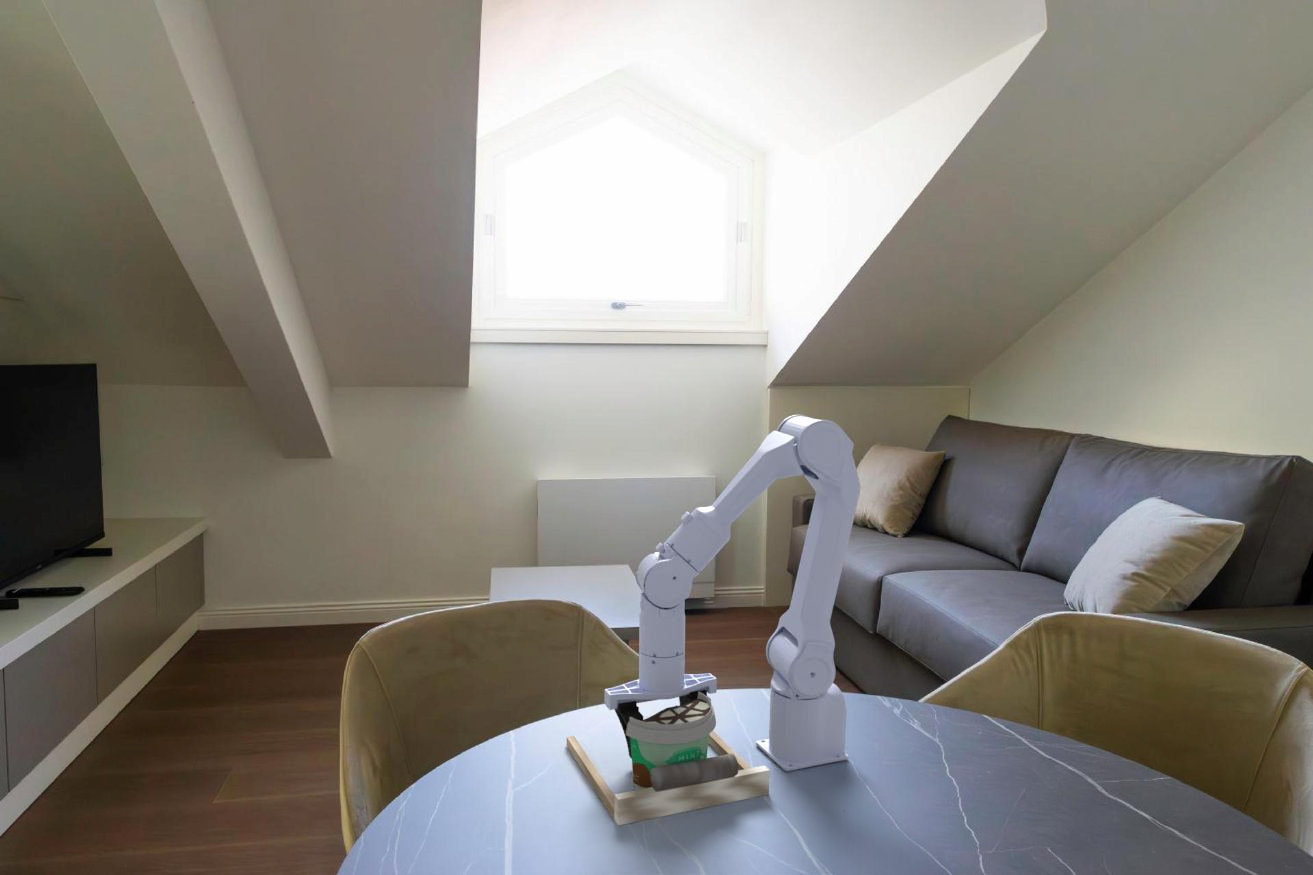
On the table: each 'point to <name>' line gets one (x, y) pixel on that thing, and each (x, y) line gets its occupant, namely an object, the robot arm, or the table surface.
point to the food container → (670, 738)
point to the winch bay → (680, 784)
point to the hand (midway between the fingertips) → (660, 753)
